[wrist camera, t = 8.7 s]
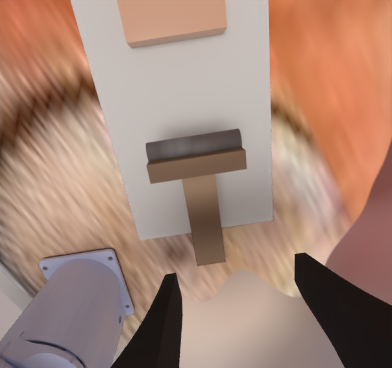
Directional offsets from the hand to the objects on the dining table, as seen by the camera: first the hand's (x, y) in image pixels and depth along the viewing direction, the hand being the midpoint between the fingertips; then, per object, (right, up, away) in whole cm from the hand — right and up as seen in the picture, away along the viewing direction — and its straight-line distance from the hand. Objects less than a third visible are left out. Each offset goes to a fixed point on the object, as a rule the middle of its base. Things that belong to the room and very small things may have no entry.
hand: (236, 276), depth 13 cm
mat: (-3, +12, +5) cm, 14 cm away
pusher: (-2, +5, +8) cm, 9 cm away
